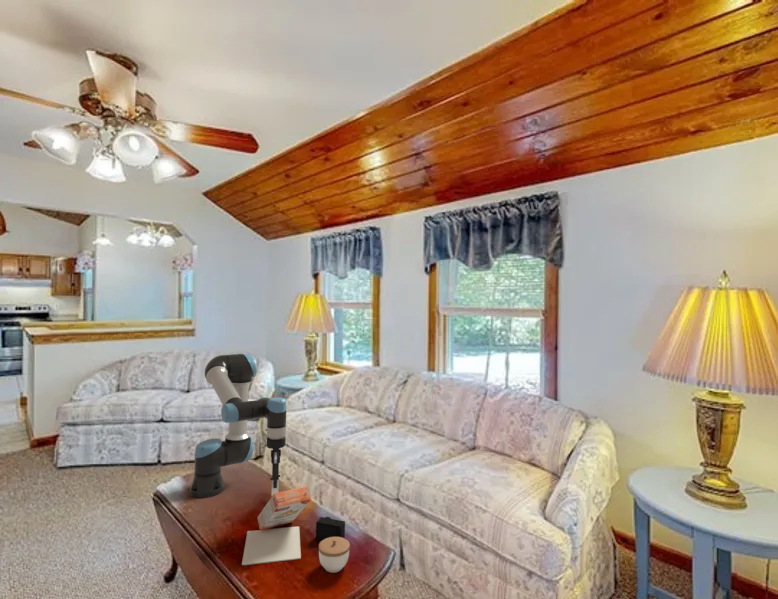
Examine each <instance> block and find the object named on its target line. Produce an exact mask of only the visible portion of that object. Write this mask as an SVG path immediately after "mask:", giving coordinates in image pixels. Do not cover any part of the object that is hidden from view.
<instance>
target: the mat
mask: <svg viewBox="0 0 778 599" xmlns="http://www.w3.org/2000/svg"><path fill="white" fill-rule="evenodd" d="M300 533H301V532H300V526H288V527H278V528H269V529H265V530H261V531H260V529H258V530H248V531H247V532H246V538H245V544H244V549H243V556H242V561H241V566H251V565H258V564H260V565H261V564H267V563H275V562H286V561H294V560H301V559H302V558H301V557H302V553H301V535H300Z"/></svg>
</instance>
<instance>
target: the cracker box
mask: <svg viewBox="0 0 778 599" xmlns="http://www.w3.org/2000/svg"><path fill="white" fill-rule="evenodd" d="M311 500H312V499H311V495H310V493H309V489H308V486H301V487H298V488H297V487H296V488H293V489H289V490H284V491H278V493H274V495H273V496H271V497H270V499H269V500H268V501H267V503H266V505H265V506H264V507H263V508H262V510H261V511H260V513H259V515H257V522H258V527H259V530H260V531H261V530H266V529H273V528H275V527H279V526H284V525H286V524H290V523H293V522H294V520H295V519H296V518H297V517H298V515H299V514H301V512H302V511H303V510H304V509H305V508H306V506H307V505H308V504H309V502H310V501H311Z"/></svg>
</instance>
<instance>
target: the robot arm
mask: <svg viewBox="0 0 778 599" xmlns="http://www.w3.org/2000/svg"><path fill="white" fill-rule="evenodd" d="M257 369H258V367H257V362H256V359H255V358H254V356H253V355H252V354H250V353H236V354H221V355H218V356H214V357H213V358H211V359H210V361H208V363H207V364H206V366H205V368H204V377H205V379H206V381H207V383H208V384H209V385H211V386H212V388H213V389H214V391H215V394H216V395H217V397H218V400H219V401H220V403H221V404H222V406H221V410H220V416H221V419H222V421H223V422H224V423H227V424H228V433H227V434H226V435H225V437H224V441H222V440H221V439H220V438H209V439H206V440H202V441H201V442H199V443H198V444H196V446H195V449H194V455H193V456H194V475H193V479H192V482H191V484H190V487H189V495H190V496H191V497H193V498H203V499H204V498H209V497H211V498H212V497H214V496H216V495H217V496H218V495H219V494H221V493H223V492H224V490H225V482H224V480H223V476H222V473H221V471H222V467H226V466H230V465H231V466H232V465H237V464H242V463H244V462H248V461H250V460H251V458H252V457H253V455H254V451H255V444H254V439H253V437H252V436H251V435H250V433H249V432H248V421H249V420H256V419H263V418H265V419H266V428H265V429H264V430H265V432H266V436H267V437H266V447H267V448H268V449H271V450H270V458H271V460H270V462H271V464H272V466H271V467H272V469H271V470H272V472H271V477H270V479H269V481H271V494H270V495H271V497H272V496H273V495H274V493H279V484H280V478H281V474H280V471H279V468H280V467H279V465H280V463H281V455H282V450H281V449H283V448H284V447H286V441H287V440H286V439H287V438H286V436H287V410H288V408H287V407H288V406H287V399H286V398H284V397H271V398H270V397H263V396H262V397H260V398H258V399H256V400H249V387H250V386H249V385H250V384H251V383H252V381H253V378H254V377H256V376H257V372H258V370H257Z"/></svg>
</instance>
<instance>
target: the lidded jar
mask: <svg viewBox="0 0 778 599" xmlns="http://www.w3.org/2000/svg"><path fill="white" fill-rule="evenodd" d="M350 547H351V544H350V542H349V540H347V539H346V538H342V537H329V538H326V539H324V540H322V541H319V544H318V558H319V563H320V565H321V566H322V567H323V569H325V571H326V572H329V573H332V574H333V573H334V574H335V573H338V572H340V571H342V570H343V568H344V567H345V566H346V564H347V563H348V561H349V556H350Z"/></svg>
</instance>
